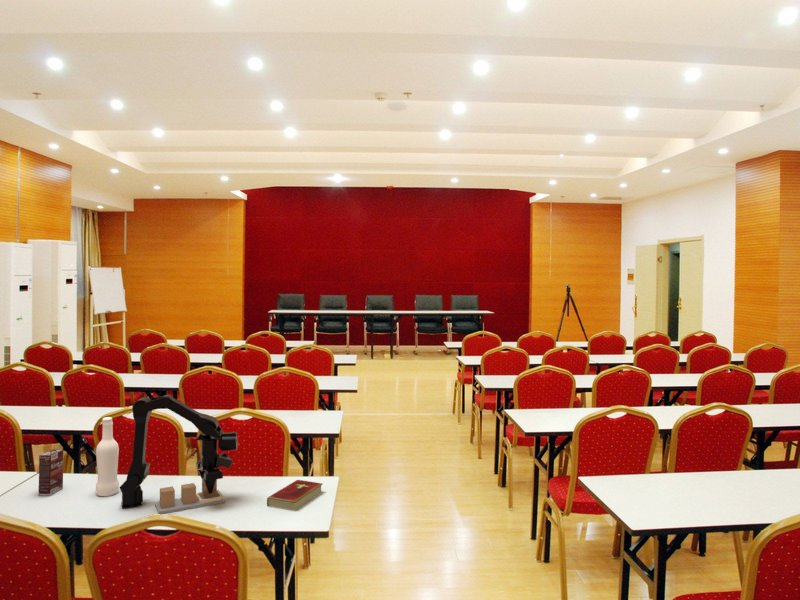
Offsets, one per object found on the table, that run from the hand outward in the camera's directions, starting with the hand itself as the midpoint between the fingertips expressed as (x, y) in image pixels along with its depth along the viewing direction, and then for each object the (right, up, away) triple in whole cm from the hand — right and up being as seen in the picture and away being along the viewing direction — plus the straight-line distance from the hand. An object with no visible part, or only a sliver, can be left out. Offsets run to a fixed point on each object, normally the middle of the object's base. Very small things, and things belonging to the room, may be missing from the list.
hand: (209, 491), depth 213 cm
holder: (-6, -4, -4) cm, 8 cm away
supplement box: (-65, -3, +7) cm, 65 cm away
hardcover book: (+33, -5, +3) cm, 33 cm away
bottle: (-42, -3, +6) cm, 43 cm away
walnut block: (0, -1, 0) cm, 1 cm away
